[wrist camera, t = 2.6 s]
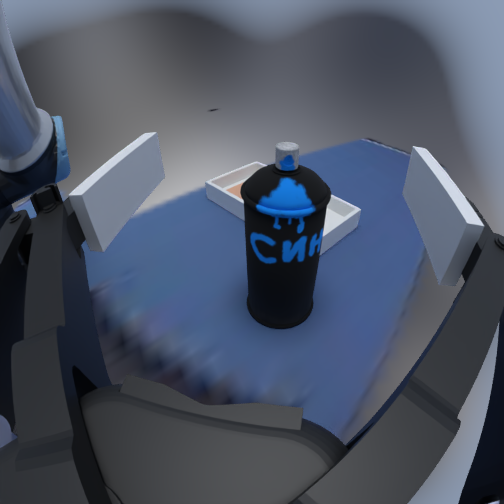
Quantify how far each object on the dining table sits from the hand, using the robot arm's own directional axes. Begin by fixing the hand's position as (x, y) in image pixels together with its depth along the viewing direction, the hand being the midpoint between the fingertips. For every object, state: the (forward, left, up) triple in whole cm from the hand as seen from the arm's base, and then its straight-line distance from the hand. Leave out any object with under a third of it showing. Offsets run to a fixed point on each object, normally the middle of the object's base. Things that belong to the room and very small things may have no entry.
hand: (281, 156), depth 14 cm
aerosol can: (-6, +8, -23) cm, 25 cm away
